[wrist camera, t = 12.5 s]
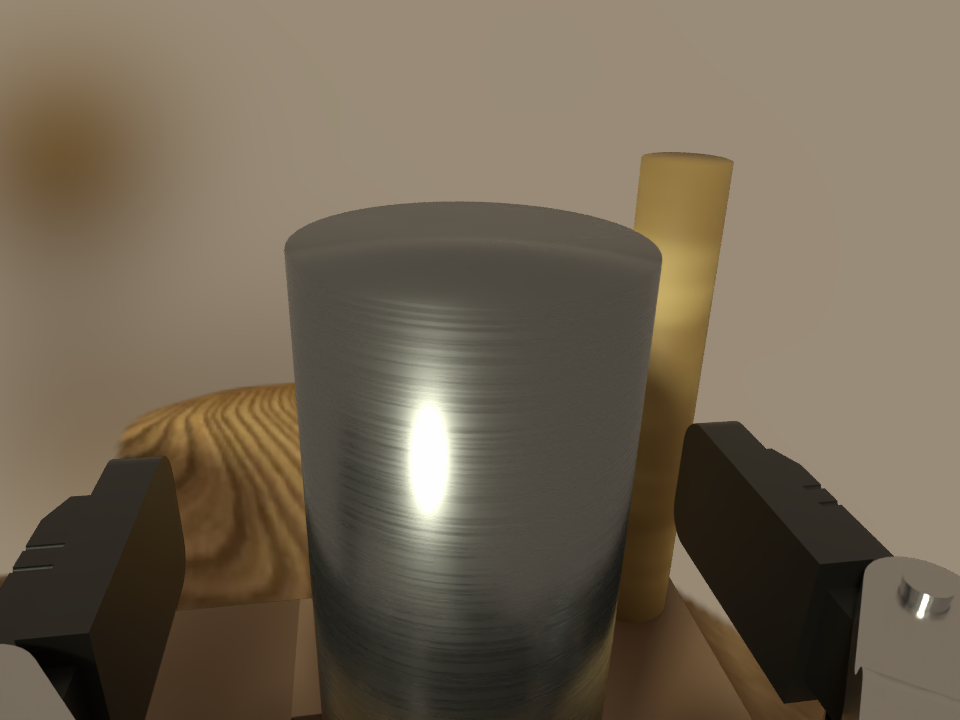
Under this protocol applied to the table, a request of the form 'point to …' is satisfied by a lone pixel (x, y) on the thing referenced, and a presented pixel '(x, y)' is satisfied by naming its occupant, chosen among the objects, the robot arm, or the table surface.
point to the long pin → (468, 453)
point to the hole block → (649, 541)
